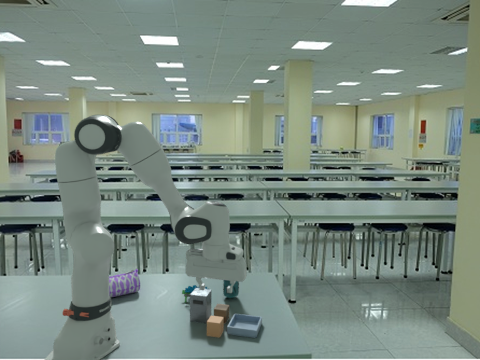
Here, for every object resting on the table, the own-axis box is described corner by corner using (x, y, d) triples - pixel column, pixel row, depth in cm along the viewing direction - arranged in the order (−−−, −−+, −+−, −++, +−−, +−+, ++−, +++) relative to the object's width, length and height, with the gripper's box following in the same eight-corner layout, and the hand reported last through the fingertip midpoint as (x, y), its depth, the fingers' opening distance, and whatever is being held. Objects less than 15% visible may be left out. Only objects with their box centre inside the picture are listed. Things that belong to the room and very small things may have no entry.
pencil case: (135, 286, 171) (134, 265, 170) (144, 293, 164) (143, 271, 163) (82, 298, 158) (81, 276, 157) (89, 307, 151) (88, 283, 150)
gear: (212, 292, 162) (206, 282, 154) (211, 306, 158) (206, 297, 150) (186, 294, 163) (179, 284, 155) (185, 308, 160) (177, 299, 152)
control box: (205, 323, 139) (206, 296, 138) (189, 321, 140) (189, 294, 139) (211, 315, 145) (211, 289, 144) (196, 313, 147) (196, 287, 146)
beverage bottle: (220, 299, 159) (220, 251, 156) (226, 293, 165) (227, 246, 162) (235, 302, 157) (236, 253, 154) (241, 296, 163) (242, 248, 160)
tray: (256, 338, 130) (256, 330, 130) (227, 334, 132) (227, 326, 132) (261, 323, 140) (262, 316, 139) (234, 320, 142) (234, 313, 142)
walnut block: (225, 323, 139) (226, 310, 139) (213, 322, 140) (213, 308, 140) (229, 318, 144) (229, 305, 143) (217, 316, 145) (217, 303, 144)
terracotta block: (219, 337, 130) (219, 323, 129) (206, 335, 131) (206, 321, 130) (223, 331, 134) (223, 317, 134) (210, 329, 135) (210, 315, 135)
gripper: (182, 250, 129) (182, 291, 130) (243, 256, 124) (243, 298, 126) (189, 245, 135) (189, 284, 136) (248, 250, 130) (247, 290, 132)
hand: (215, 290), depth 131 cm, fingers open, 8 cm apart
